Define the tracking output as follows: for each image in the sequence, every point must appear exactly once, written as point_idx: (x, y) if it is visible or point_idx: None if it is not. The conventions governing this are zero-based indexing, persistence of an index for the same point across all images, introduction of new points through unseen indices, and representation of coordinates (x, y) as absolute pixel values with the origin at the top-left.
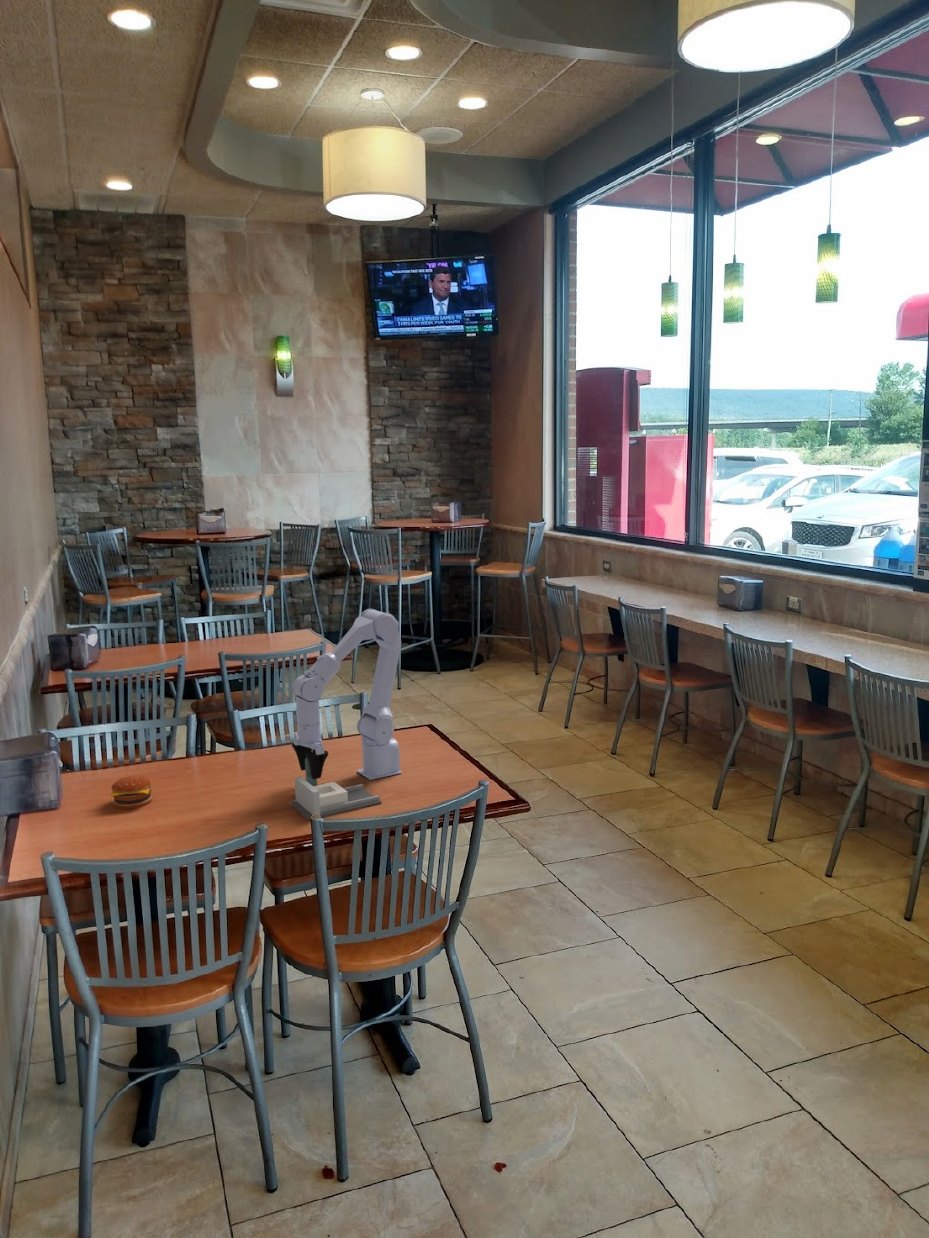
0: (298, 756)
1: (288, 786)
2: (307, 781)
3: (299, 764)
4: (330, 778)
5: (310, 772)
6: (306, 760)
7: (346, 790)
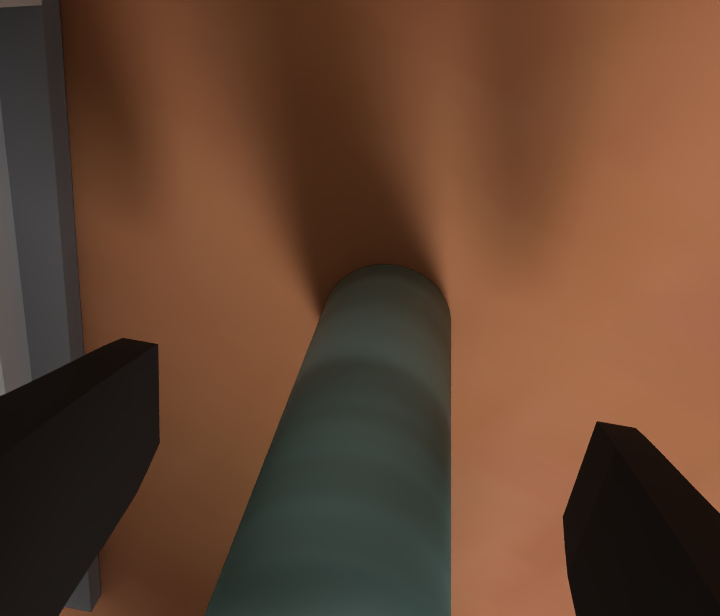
0: (714, 601)
1: (688, 160)
2: (354, 317)
3: (683, 477)
4: (515, 586)
5: (281, 422)
6: (293, 562)
7: None
